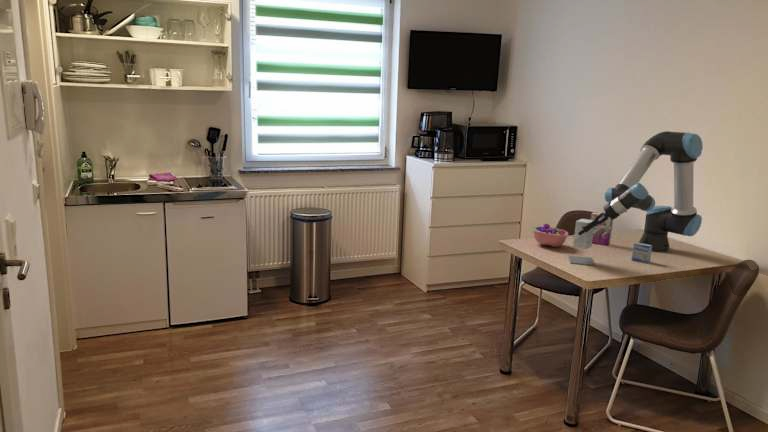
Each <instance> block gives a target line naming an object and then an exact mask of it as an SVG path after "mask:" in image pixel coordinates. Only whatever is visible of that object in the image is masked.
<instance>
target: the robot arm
mask: <svg viewBox="0 0 768 432" xmlns="http://www.w3.org/2000/svg"><path fill="white" fill-rule="evenodd" d="M703 145H704V144H703V141H702V137H701V136H700V135H699V134H697V133H691V132H683V131H681V132H679V131H678V132H677V131H669V130H667V131H666V130H665V131H661V132H658V133H657V134H654V135H653V136H651V137H649V139H648V140H646V141H645V142H644V143H643V144H642V146H641V148H640V150H639V151H640V152H639V153H638V155H637V157H636V158H635V159H634V161H633V162H632V164H631V165H630V166H629V168H628V169H627V171H625V173H624V175H622V178H621V179H620V180H619V182H618V183H617V184H616V186H615V187H609V188H607V189H606V190H605V192H604V200H605V201H606V202H607V203H606V204H605V205H604V206H603V211H604V212H601V214H600V215H599V216H598V217H596V218H595V220H594V221H592V222H591V223H590V224H588V225H587V226H585V227H582V229H581V230H579V231H578V232H577V233H575V232H574V234H572V235H571V237H572V238H573V240H574V239H575V240H577V239H578V238H580V237H581V236H582V235H584V234H585V233H587V232H588V231H589V230H590V229H592V228H593V227H595V226H596V225H598V224H601V223H602V222H604V221H606V220H607V219H608V217H610V218H611V219H613V220H615V219H617V218H619V217H620V216H621V215H622V214H624V213H628V210H630V209H631V208H634V209H638V210H641V211H644V212H646V213H645V218H644V219H645V222H644V229H643V234H642V236H641V237H640V239H639V241H638V243H643V244H648V245H653V246H652V252H659V253H660V252H661V253H662V252H664V253H665V252H669V251H670V242H669V236H668V235H669V233H671V234H676V235H681V236H683V237H684V236H685V237H686V236H687V237H694V236H695V235H696V234H697V233H698V232H699V230H700V228H701V226H702V225H701V224H702V220H703V219H702V215H700V214H698V212H697V208H696V207H695V206H694V163H695V162H697V160H698V159H699V157H700V156H701V155H702V151H703V147H704V146H703ZM663 155H665V156H669V157H670V158H669V159H670V162H671V163H673V201H674V202H673V204H674V205H673V207H672V206H669V205H656V201H655V198H654V197H653V196H652V195H650V194H649V191H648V189H647V188H646V187H645V185H643V184H642V183H640V181H641V180H642V178H643V177H644V175H645V174H646V173H647V171H648V170H649V168H650V167H651V166H652V164H653V162H654V161H657V160H658V159H659V158H660V157H661V156H663ZM587 229H588V230H587ZM594 229H595V228H594Z"/></svg>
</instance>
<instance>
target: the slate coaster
mask: <svg viewBox="0 0 768 432" xmlns="http://www.w3.org/2000/svg"><path fill="white" fill-rule="evenodd" d="M568 259H569V260H568V261H569V263H570V264H571V265H573V264H574V265H583V266H592V267H595V266H596V264H595V262H594V259H593V258H592V257H588V256H581V255H580V256H578V255H568Z"/></svg>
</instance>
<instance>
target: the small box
mask: <svg viewBox="0 0 768 432" xmlns="http://www.w3.org/2000/svg"><path fill="white" fill-rule="evenodd" d="M592 221H593V220H590V219H587V218H580V219H577V220H576V221H575V227H574V228H575V229H574V234H575V233H577V232H578V231H579V230H581V229H582V227H585V226H587V225H588V224H590V223H591V222H592ZM587 230H588V229H587ZM593 231H594V227H593V228H592V229H590V230H589V231H588V232H587V233H585V234H584V235H582V236H581V237H580V238H578V239H577V240H575V239H574V238H573V246H572V247H573V248H577V249H580V250H587V249H589V248H592V247H593V243H592V239H593Z"/></svg>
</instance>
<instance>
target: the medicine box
mask: <svg viewBox="0 0 768 432" xmlns="http://www.w3.org/2000/svg"><path fill="white" fill-rule="evenodd" d="M652 246H653V245H648V244H643V243H639V242H637V241H636V242H634V243H633V246H632V253H631V261H633V262H638V263H639V262H640V263H643V264H649V263H650V262H651V258H652V252H653V251H652Z"/></svg>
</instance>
